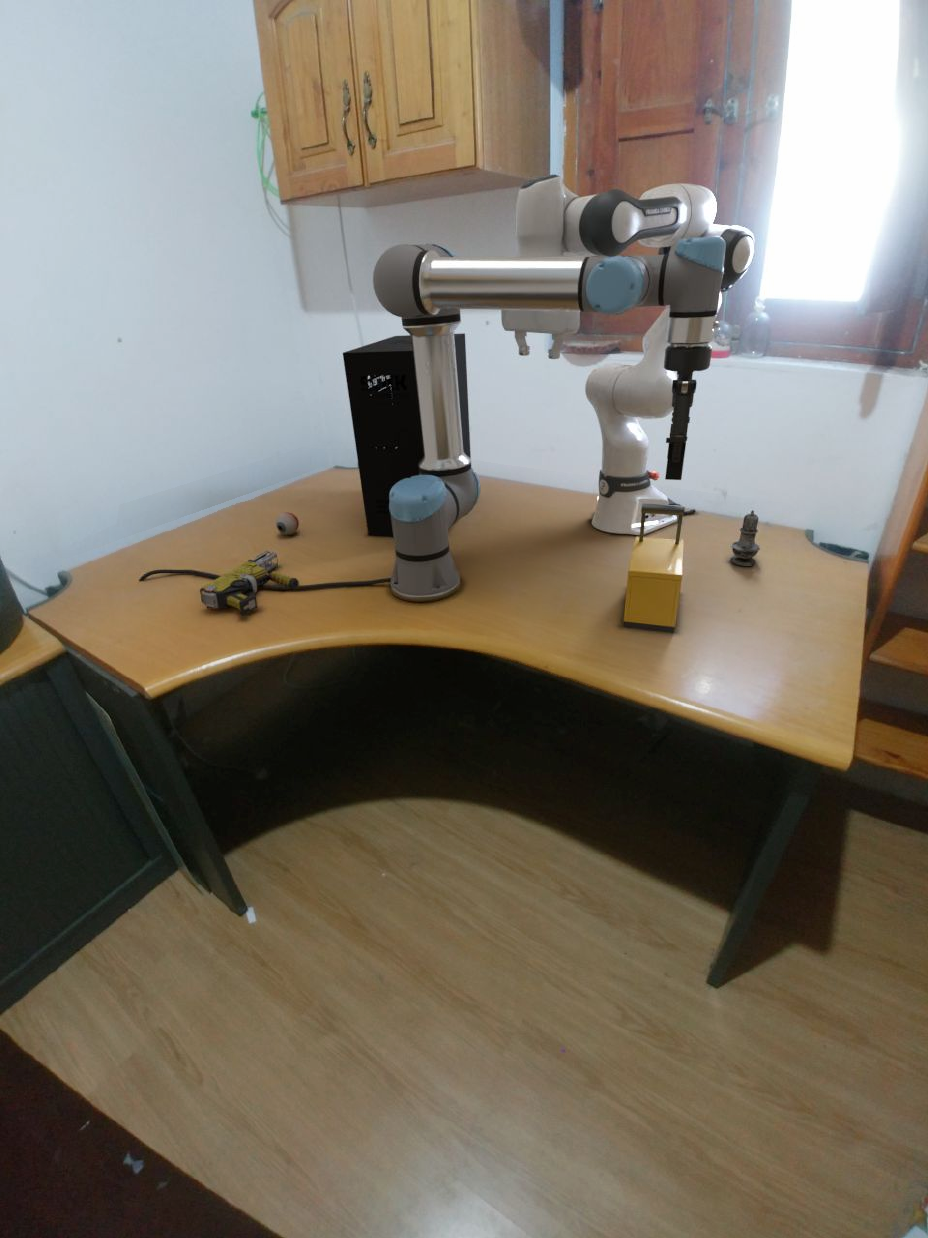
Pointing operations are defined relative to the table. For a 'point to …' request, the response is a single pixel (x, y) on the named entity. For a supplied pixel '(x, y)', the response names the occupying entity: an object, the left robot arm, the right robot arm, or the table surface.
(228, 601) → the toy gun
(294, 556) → the table surface
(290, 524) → the eyeball
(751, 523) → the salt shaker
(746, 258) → the right robot arm
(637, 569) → the lid
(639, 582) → the chest
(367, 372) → the cardboard box
